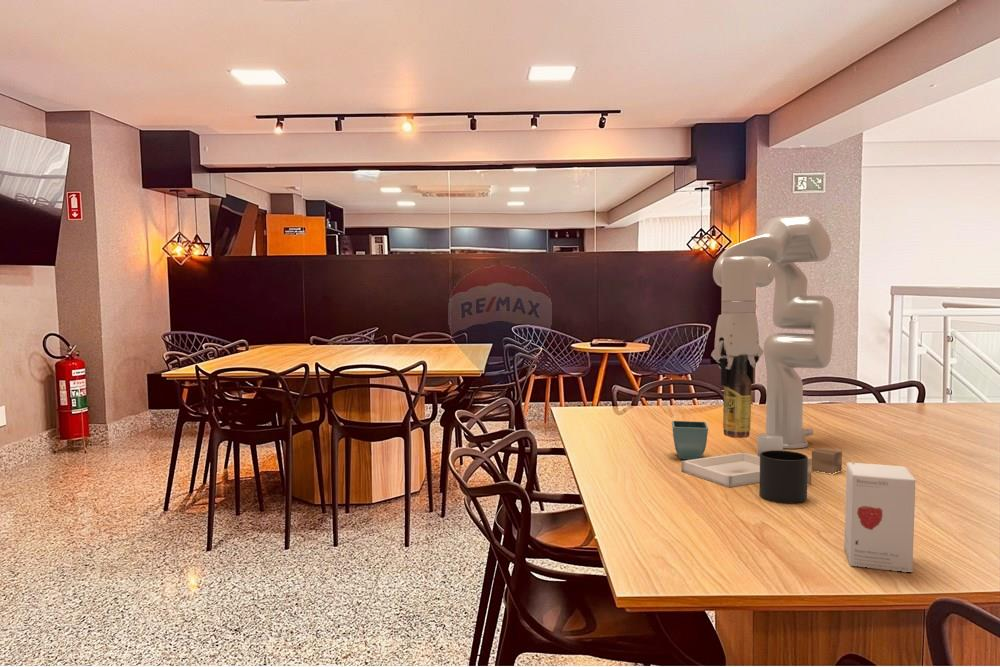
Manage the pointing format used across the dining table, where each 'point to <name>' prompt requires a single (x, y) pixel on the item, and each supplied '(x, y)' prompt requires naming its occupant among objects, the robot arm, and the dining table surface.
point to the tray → (725, 469)
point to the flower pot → (690, 438)
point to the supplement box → (879, 516)
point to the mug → (783, 476)
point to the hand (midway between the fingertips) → (737, 384)
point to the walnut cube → (826, 460)
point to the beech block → (809, 470)
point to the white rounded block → (769, 443)
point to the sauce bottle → (738, 401)
